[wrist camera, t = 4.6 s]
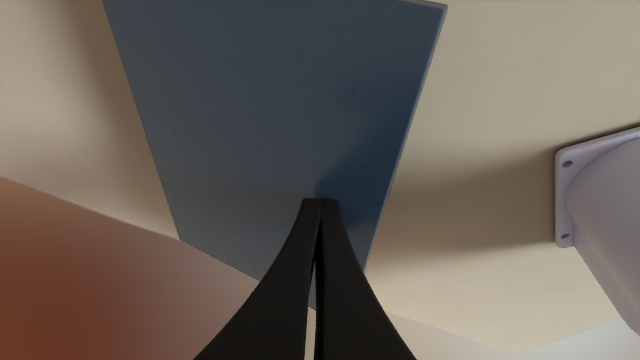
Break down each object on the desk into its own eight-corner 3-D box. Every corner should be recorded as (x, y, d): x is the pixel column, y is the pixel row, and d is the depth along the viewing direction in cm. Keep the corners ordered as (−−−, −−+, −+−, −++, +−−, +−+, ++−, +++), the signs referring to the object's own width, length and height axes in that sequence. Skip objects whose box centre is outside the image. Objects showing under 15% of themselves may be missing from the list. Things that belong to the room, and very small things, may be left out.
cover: (449, 4, 7) (444, 10, 7) (350, 317, 17) (346, 326, 17) (97, -66, 10) (80, -65, 10) (186, 233, 21) (179, 239, 20)
